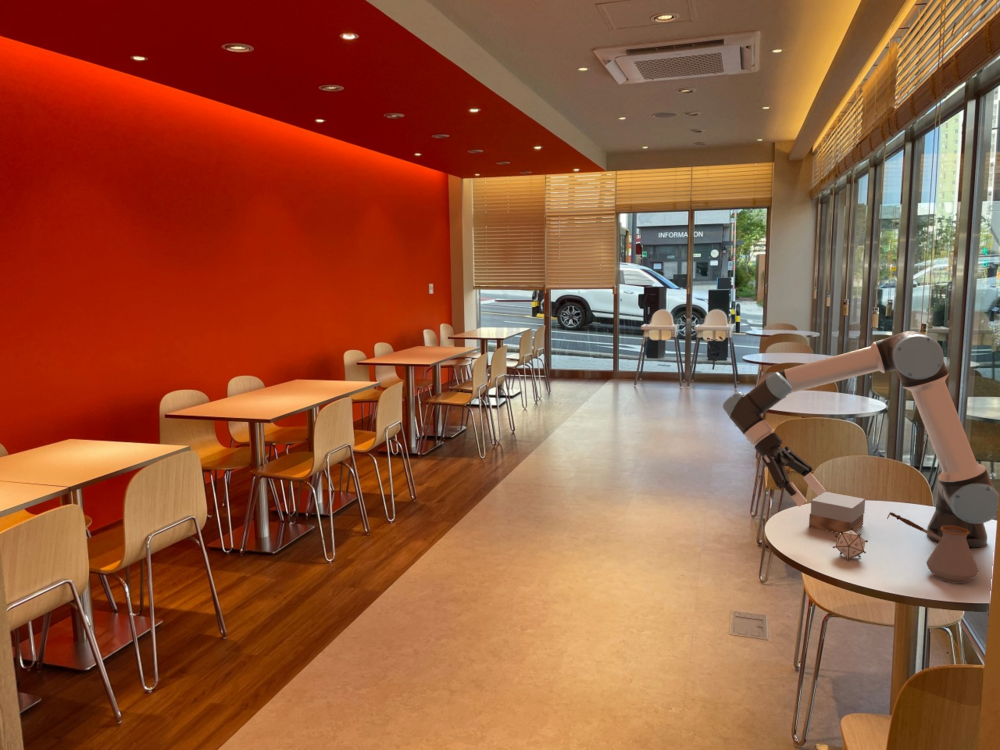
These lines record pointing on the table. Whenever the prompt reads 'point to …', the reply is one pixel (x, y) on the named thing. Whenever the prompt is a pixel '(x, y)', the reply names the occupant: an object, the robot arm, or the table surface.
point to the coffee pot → (949, 554)
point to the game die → (850, 544)
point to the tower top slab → (838, 506)
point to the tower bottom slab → (834, 523)
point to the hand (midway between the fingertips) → (812, 498)
